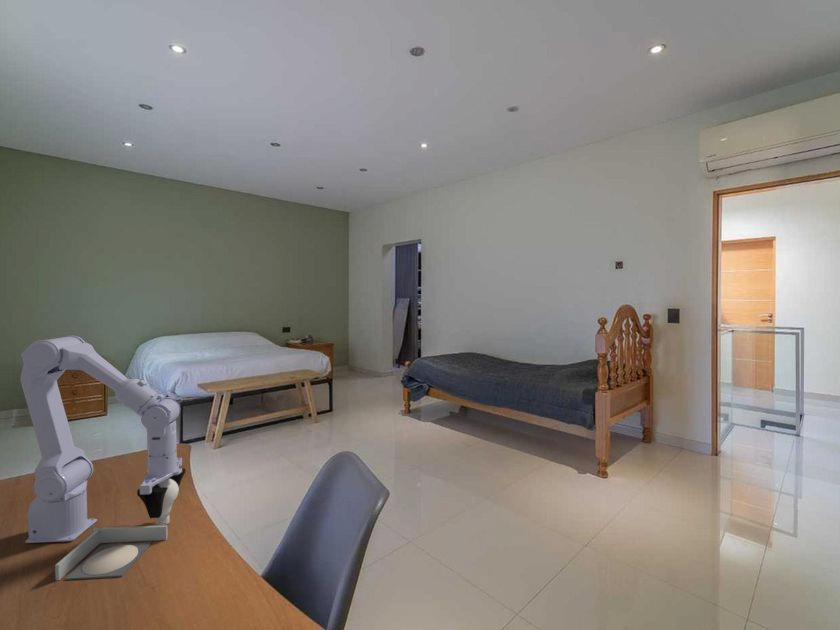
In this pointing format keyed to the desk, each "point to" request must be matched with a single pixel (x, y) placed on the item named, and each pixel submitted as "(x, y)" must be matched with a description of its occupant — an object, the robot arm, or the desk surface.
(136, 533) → the acrylic fence
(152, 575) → the desk surface
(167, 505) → the lightbulb
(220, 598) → the desk surface
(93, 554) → the mat
